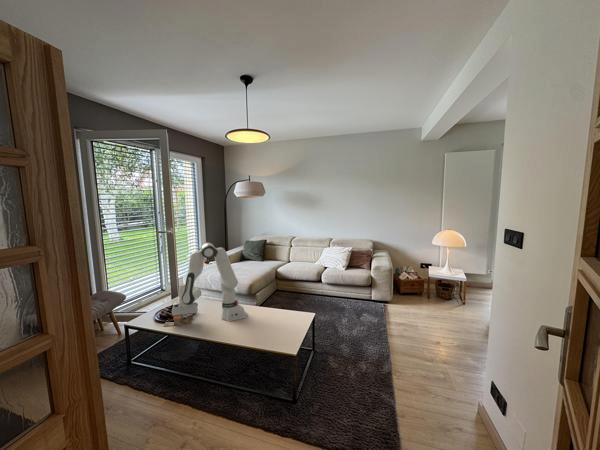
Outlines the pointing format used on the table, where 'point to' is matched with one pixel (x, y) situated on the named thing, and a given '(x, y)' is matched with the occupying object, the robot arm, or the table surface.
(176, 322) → the chute
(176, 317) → the block
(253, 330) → the table surface
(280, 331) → the table surface
